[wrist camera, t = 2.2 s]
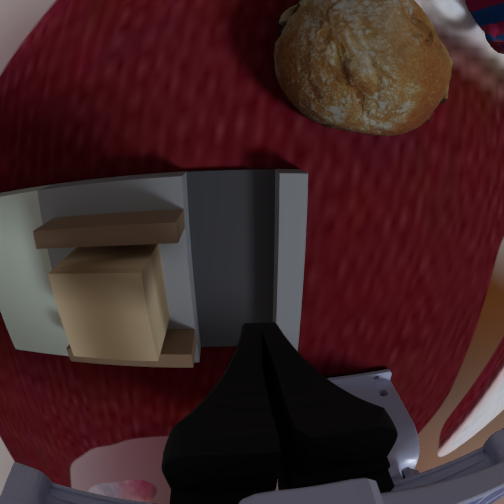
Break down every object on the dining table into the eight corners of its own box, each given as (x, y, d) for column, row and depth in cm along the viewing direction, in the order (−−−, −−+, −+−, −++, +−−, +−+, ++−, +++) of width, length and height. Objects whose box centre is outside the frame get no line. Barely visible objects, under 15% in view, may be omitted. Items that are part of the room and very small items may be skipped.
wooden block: (159, 241, 17) (141, 272, 13) (169, 319, 19) (158, 361, 15) (79, 244, 17) (47, 273, 13) (96, 318, 19) (73, 356, 15)
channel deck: (300, 169, 18) (320, 181, 14) (292, 340, 22) (303, 383, 18) (-12, 195, 17) (-51, 212, 13) (26, 335, 21) (1, 367, 17)
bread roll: (310, -1, 17) (277, -64, 10) (452, 36, 14) (480, -21, 7) (277, 119, 20) (226, 94, 13) (424, 166, 18) (456, 162, 10)
